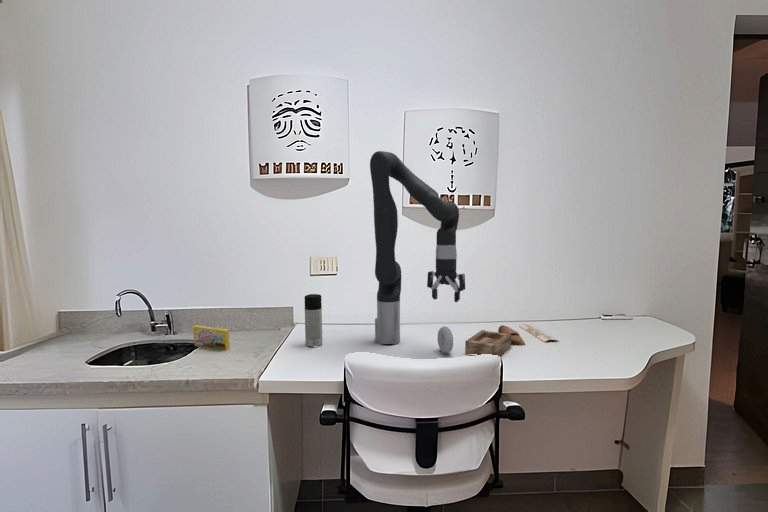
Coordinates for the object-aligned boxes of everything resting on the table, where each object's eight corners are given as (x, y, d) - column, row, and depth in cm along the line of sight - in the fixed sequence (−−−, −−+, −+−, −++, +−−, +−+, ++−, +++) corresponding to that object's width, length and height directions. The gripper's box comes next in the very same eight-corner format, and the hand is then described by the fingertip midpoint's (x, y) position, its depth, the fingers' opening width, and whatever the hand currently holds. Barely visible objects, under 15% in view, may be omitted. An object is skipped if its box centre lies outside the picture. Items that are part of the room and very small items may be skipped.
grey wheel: (454, 356, 164) (455, 330, 163) (445, 357, 163) (446, 330, 162) (444, 348, 173) (444, 323, 172) (435, 349, 173) (436, 323, 171)
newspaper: (558, 343, 181) (558, 339, 181) (542, 344, 180) (542, 340, 180) (531, 327, 204) (531, 323, 204) (516, 328, 203) (516, 324, 203)
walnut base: (465, 354, 166) (465, 341, 166) (481, 342, 181) (481, 329, 180) (496, 360, 160) (497, 346, 159) (511, 347, 174) (511, 334, 174)
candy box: (193, 346, 177) (192, 326, 176) (197, 345, 179) (196, 324, 178) (226, 351, 171) (225, 330, 170) (230, 349, 173) (229, 328, 172)
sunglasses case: (527, 345, 176) (519, 331, 175) (511, 354, 177) (503, 339, 176) (517, 332, 194) (510, 319, 193) (503, 340, 194) (495, 327, 194)
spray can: (325, 343, 180) (324, 294, 177) (316, 348, 173) (315, 297, 171) (311, 341, 182) (310, 293, 180) (302, 346, 176) (300, 296, 174)
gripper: (423, 256, 164) (423, 300, 166) (460, 259, 157) (459, 304, 159) (433, 254, 171) (432, 296, 173) (468, 256, 163) (467, 300, 165)
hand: (445, 300), depth 166 cm, fingers open, 8 cm apart
